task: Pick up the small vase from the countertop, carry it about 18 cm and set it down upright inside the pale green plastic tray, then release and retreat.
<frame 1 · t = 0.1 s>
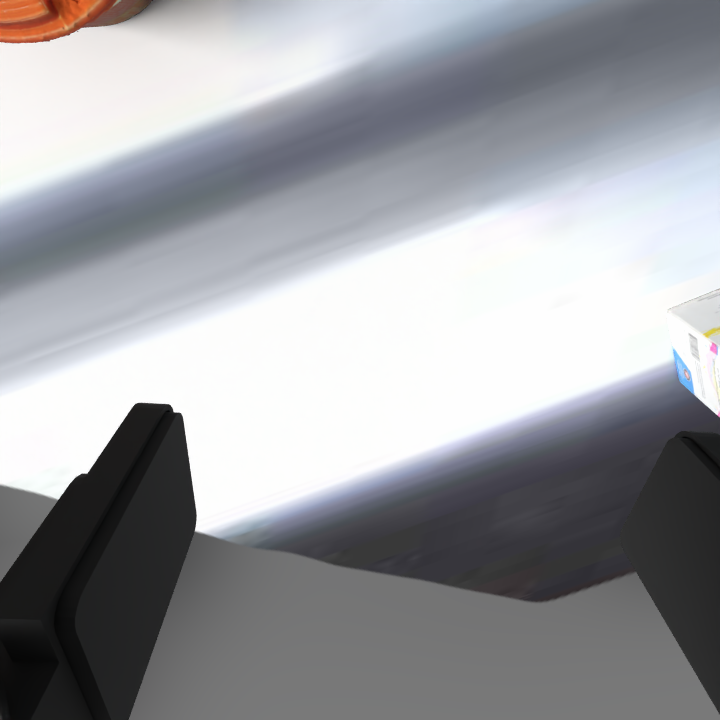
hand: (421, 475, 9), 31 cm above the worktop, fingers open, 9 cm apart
ink box: (715, 327, 43), on the worktop
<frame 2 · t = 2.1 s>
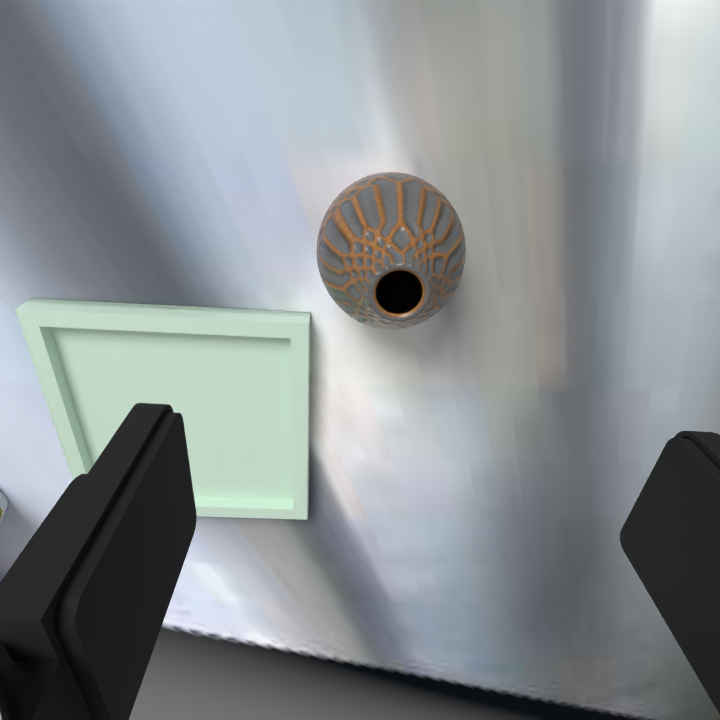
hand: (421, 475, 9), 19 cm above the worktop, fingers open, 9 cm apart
vase: (385, 230, 26), on the worktop
tray: (189, 415, 31), on the worktop
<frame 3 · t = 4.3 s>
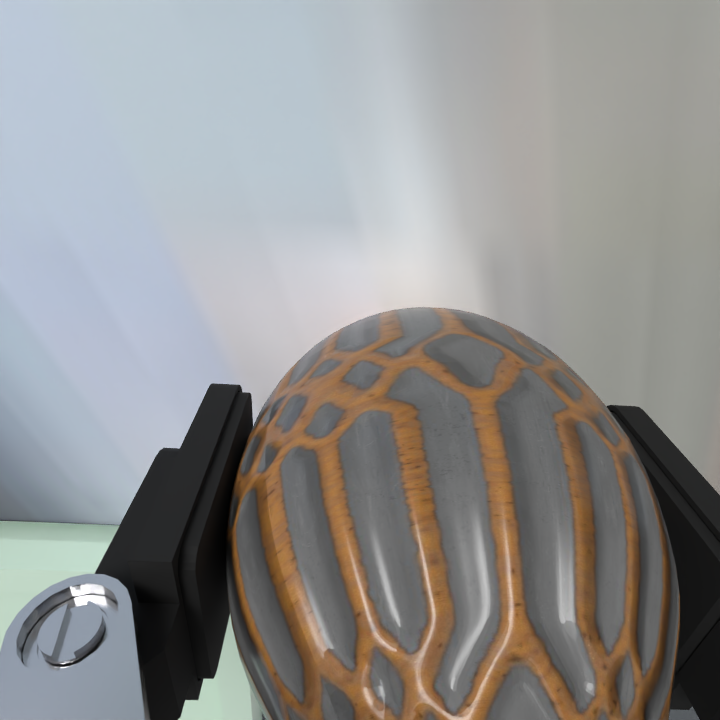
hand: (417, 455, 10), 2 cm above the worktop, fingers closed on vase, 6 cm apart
vase: (407, 393, 12), on the worktop, touching gripper
tray: (41, 669, 17), on the worktop
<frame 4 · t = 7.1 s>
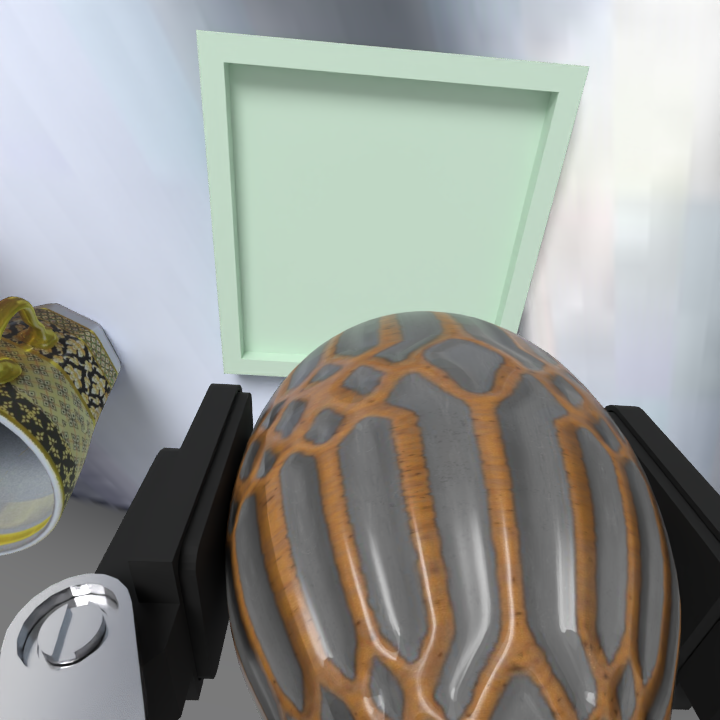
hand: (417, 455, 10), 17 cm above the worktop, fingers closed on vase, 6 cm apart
vase: (407, 396, 12), point 15 cm above the worktop, touching gripper
tray: (376, 235, 24), on the worktop
ceramic cup: (71, 334, 27), on the worktop
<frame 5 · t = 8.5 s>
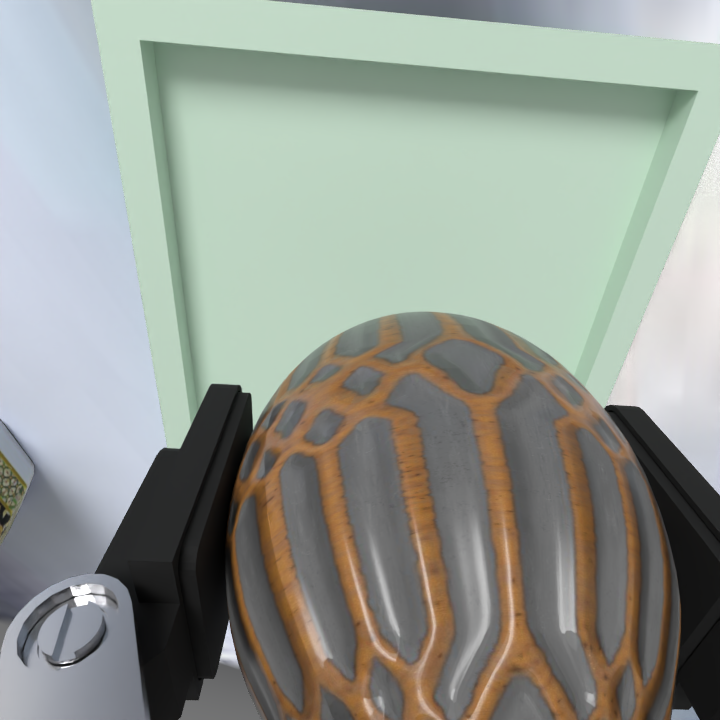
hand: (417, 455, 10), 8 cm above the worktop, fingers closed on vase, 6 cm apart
vase: (407, 396, 12), point 6 cm above the worktop, touching gripper
tray: (391, 302, 16), on the worktop
when the fingers open (4 cm above the worktop, at t = 9.9 s): vase drops 1 cm, resting on tray.
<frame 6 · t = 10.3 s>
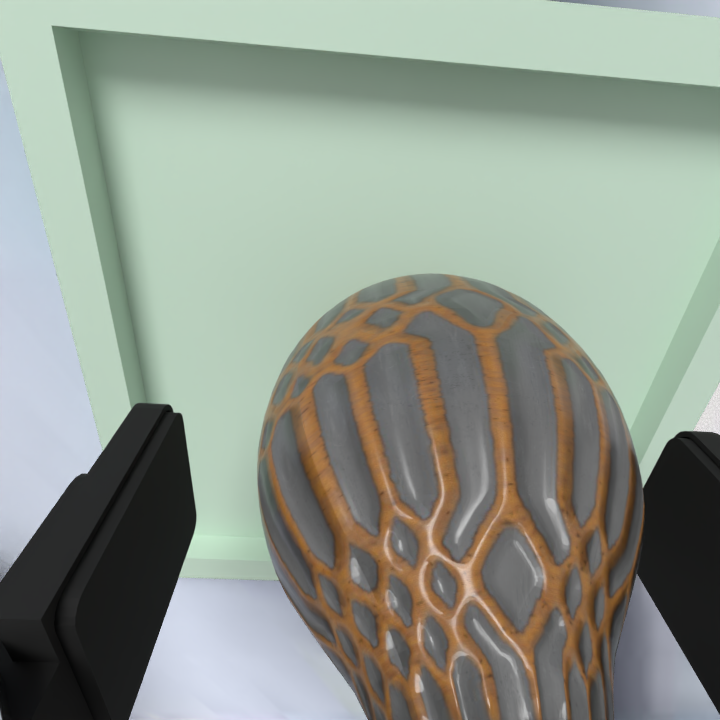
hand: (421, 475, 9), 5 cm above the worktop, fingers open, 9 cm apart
vase: (413, 360, 13), resting on tray
tray: (400, 358, 13), on the worktop
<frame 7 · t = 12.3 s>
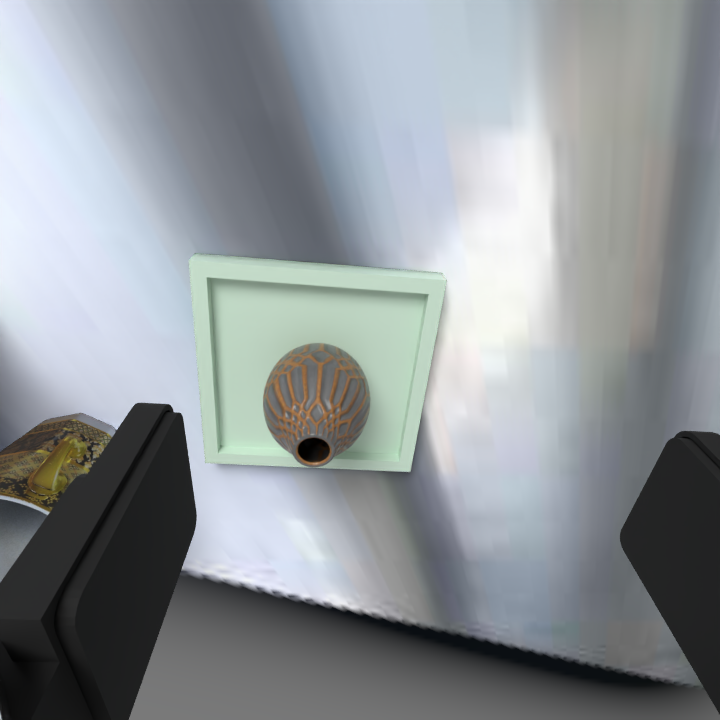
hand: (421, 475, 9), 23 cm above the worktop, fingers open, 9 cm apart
vase: (319, 370, 34), resting on tray
tray: (315, 369, 34), on the worktop
ceramic cup: (91, 432, 36), on the worktop
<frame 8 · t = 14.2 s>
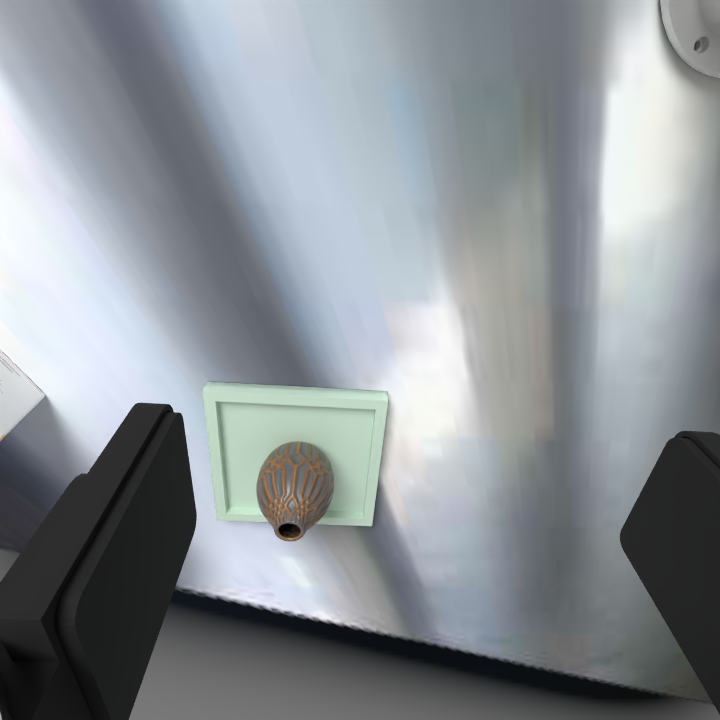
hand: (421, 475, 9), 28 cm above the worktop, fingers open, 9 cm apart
vase: (299, 456, 46), resting on tray
tray: (297, 454, 46), on the worktop
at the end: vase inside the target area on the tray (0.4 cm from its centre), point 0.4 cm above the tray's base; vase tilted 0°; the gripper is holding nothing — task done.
